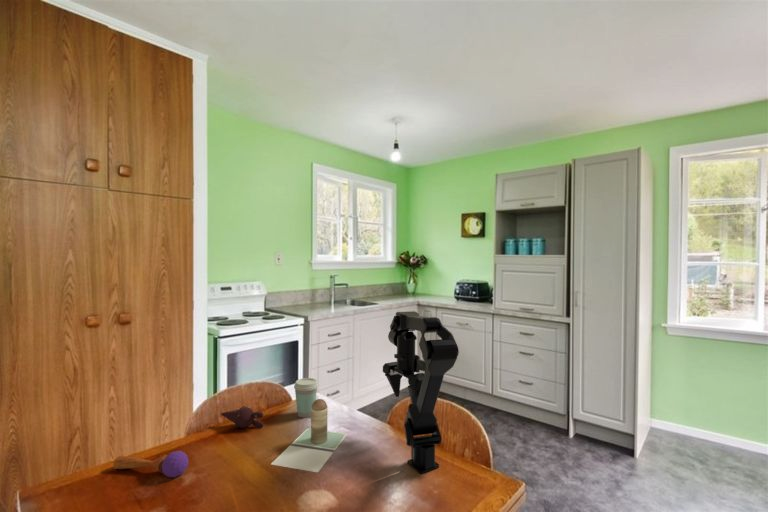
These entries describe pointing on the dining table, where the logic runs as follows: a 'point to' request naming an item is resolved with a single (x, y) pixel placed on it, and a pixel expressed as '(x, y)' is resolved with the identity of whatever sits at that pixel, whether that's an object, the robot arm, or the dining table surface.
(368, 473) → the dining table surface
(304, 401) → the coffee cup
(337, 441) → the board
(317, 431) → the wooden pin
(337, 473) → the dining table surface
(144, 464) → the kendama
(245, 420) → the icecream
